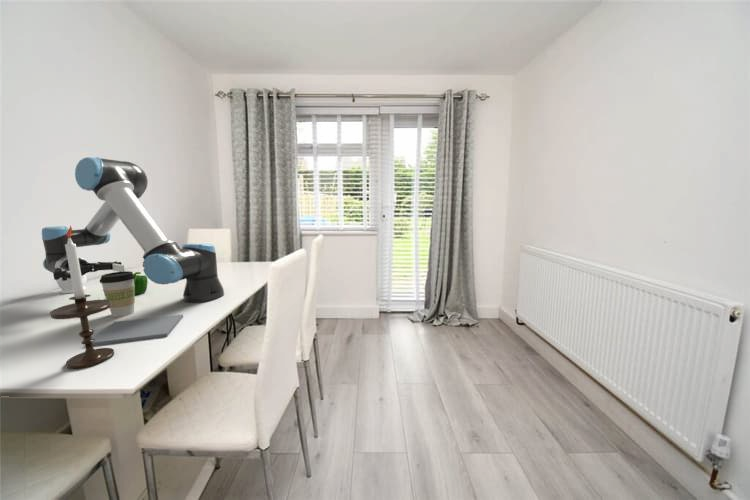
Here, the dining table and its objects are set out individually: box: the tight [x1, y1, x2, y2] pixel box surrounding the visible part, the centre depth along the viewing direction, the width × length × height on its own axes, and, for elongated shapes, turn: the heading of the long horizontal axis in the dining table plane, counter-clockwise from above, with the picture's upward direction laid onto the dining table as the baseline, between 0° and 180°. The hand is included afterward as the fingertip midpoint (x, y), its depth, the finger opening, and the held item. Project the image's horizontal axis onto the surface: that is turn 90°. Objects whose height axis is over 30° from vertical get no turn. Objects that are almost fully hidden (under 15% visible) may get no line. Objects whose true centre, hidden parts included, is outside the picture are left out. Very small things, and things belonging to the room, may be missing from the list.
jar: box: [55, 257, 87, 294], centre depth 135 cm, size 11×10×15 cm
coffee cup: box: [99, 270, 136, 318], centre depth 107 cm, size 10×10×15 cm
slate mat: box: [92, 314, 184, 347], centre depth 94 cm, size 20×16×1 cm
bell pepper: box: [133, 271, 148, 296], centre depth 131 cm, size 8×8×10 cm
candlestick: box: [49, 225, 115, 370], centre depth 74 cm, size 11×11×35 cm
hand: (101, 272), depth 110 cm, fingers open, 13 cm apart
